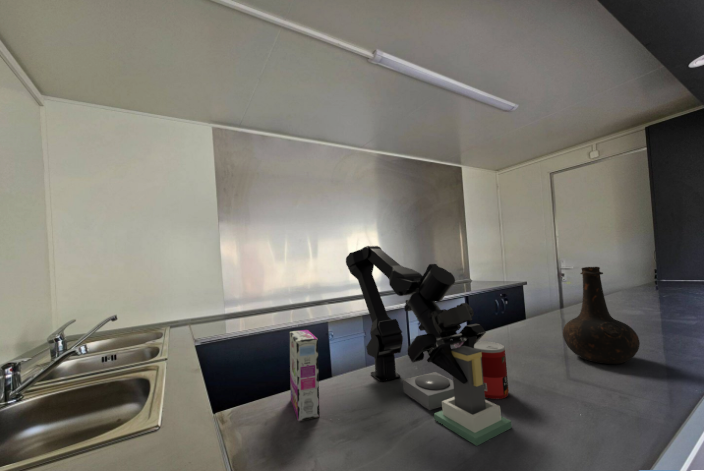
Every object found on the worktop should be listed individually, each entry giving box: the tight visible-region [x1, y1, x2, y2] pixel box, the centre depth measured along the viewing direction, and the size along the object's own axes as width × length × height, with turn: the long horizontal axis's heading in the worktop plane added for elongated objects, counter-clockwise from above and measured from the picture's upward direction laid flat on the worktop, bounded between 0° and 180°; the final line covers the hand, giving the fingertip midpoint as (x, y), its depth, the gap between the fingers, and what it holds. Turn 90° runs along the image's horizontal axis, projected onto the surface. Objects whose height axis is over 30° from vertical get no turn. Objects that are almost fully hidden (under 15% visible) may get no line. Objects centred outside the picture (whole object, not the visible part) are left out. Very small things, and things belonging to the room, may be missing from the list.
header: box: [433, 397, 513, 447], centre depth 57 cm, size 10×10×4 cm
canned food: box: [474, 340, 509, 400], centre depth 70 cm, size 8×8×11 cm
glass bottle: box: [562, 266, 640, 365], centre depth 88 cm, size 18×18×28 cm
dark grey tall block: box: [451, 346, 486, 415], centre depth 57 cm, size 5×4×12 cm
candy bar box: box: [289, 329, 321, 422], centre depth 66 cm, size 11×5×16 cm, turn 21°
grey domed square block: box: [402, 371, 454, 411], centre depth 69 cm, size 10×10×3 cm
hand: (473, 380), depth 56 cm, fingers closed on dark grey tall block, 4 cm apart
